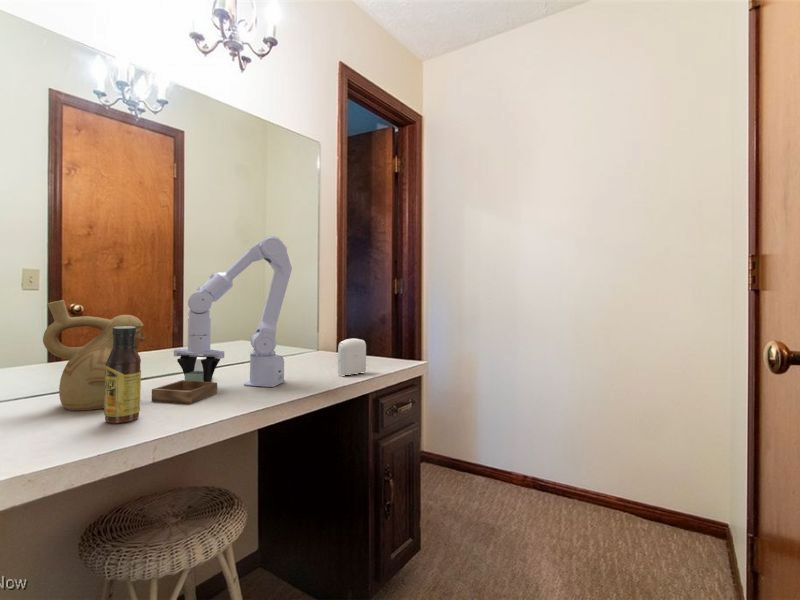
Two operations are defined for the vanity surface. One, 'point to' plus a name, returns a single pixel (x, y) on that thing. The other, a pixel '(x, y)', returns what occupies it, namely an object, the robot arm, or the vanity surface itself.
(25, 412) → the vanity surface
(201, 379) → the mint green block
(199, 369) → the white rounded block
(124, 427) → the vanity surface
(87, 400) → the ceramic vessel
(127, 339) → the sauce bottle
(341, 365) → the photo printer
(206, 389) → the wooden tray
